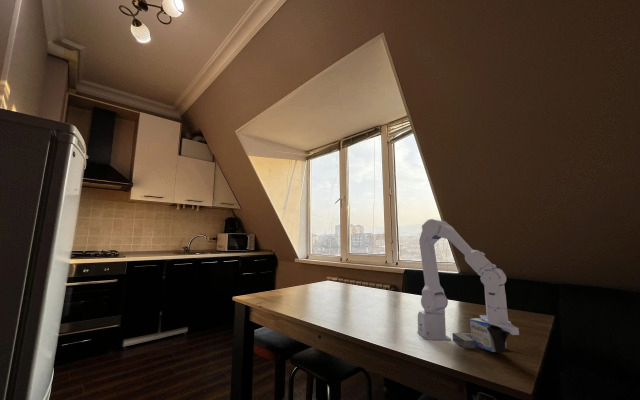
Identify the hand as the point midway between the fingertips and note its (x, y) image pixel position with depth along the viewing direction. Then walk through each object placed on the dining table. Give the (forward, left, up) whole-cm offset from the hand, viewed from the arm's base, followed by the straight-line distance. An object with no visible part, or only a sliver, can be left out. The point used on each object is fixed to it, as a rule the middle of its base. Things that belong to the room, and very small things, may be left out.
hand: (500, 352), depth 83 cm
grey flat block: (0, +9, -1) cm, 9 cm away
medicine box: (0, +6, -1) cm, 6 cm away
